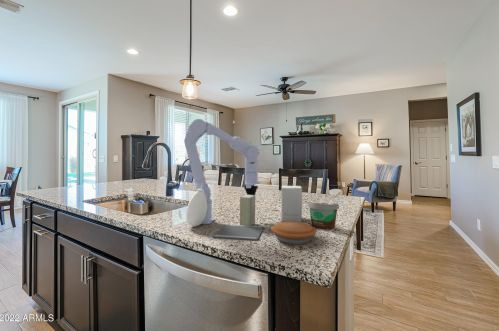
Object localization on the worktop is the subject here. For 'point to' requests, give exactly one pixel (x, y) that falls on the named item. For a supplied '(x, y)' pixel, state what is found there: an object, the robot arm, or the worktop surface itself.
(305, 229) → the pie
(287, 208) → the supplement box
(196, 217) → the white ellipsoid
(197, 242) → the worktop surface
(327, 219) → the food container
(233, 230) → the mat
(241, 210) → the skincare box
